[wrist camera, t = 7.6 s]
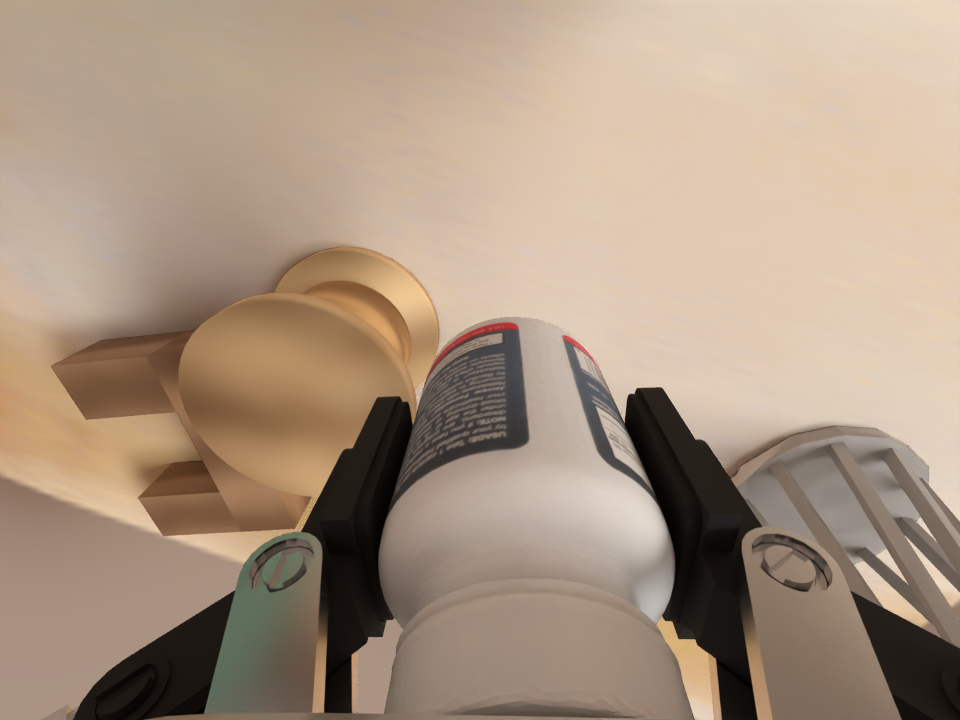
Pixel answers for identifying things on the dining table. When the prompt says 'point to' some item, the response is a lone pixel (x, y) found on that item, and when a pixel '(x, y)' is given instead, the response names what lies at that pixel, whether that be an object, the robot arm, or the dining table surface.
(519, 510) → the pill bottle
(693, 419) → the dining table surface
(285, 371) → the wooden spool
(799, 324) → the dining table surface
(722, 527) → the robot arm
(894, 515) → the grey lattice tower
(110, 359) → the notched board
